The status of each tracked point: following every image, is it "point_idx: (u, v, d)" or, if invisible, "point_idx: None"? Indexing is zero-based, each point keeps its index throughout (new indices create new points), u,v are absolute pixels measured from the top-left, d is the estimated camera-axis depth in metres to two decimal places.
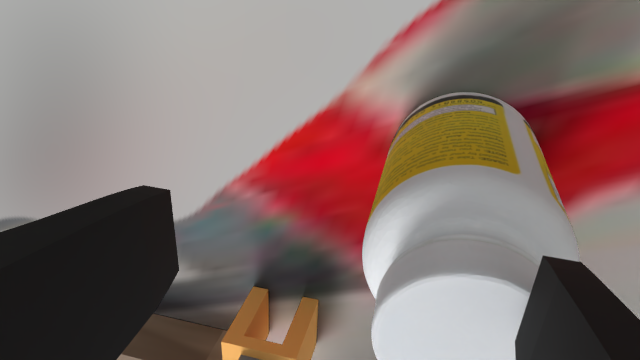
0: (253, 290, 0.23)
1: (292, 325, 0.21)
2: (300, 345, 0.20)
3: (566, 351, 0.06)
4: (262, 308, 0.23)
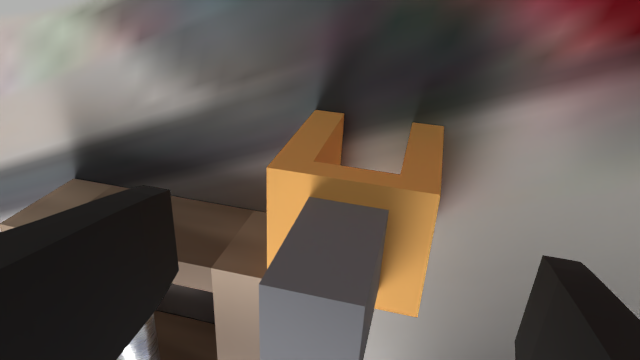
0: (316, 113, 0.12)
1: (409, 152, 0.10)
2: (439, 176, 0.09)
3: (566, 351, 0.06)
4: (336, 142, 0.12)
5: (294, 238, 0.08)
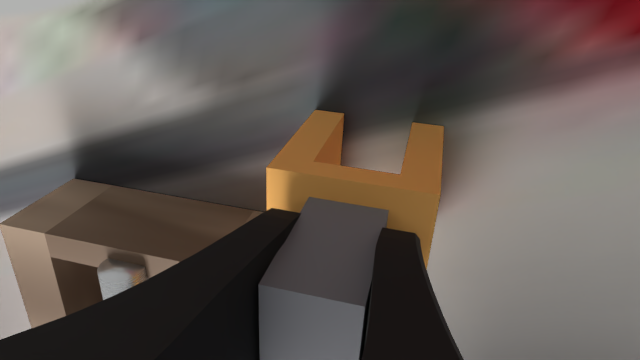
0: (316, 113, 0.12)
1: (409, 152, 0.10)
2: (439, 176, 0.09)
3: (368, 309, 0.07)
4: (335, 142, 0.12)
5: (294, 238, 0.08)
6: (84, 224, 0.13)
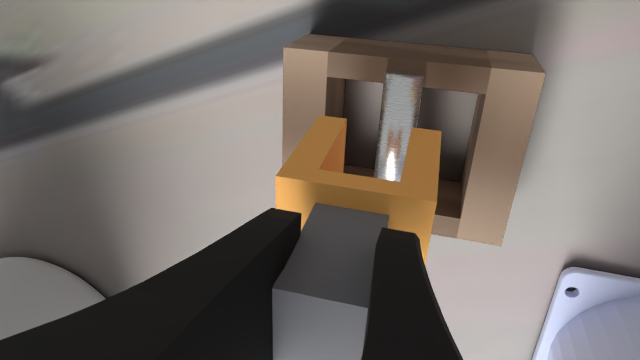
0: (320, 119, 0.13)
1: (408, 158, 0.11)
2: (436, 183, 0.10)
3: (369, 309, 0.07)
4: (339, 147, 0.13)
5: (302, 243, 0.09)
6: (354, 49, 0.15)
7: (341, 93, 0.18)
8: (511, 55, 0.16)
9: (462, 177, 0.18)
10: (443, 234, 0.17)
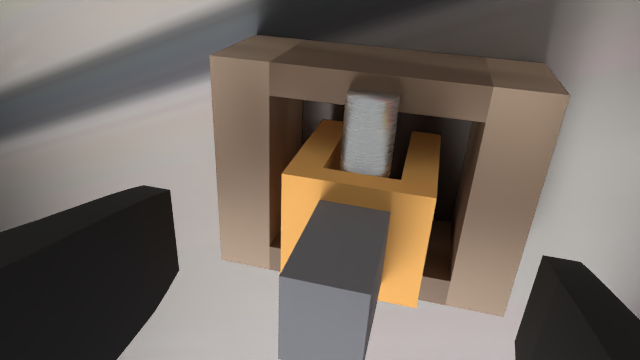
0: (324, 122, 0.13)
1: (409, 159, 0.11)
2: (436, 182, 0.10)
3: (566, 351, 0.06)
4: None
5: (307, 237, 0.09)
6: (307, 58, 0.11)
7: (297, 111, 0.14)
8: (518, 65, 0.12)
9: (453, 218, 0.14)
10: (428, 299, 0.13)
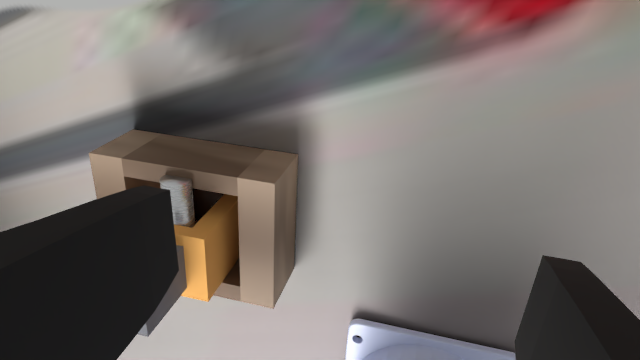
0: None
1: (208, 213, 0.19)
2: (212, 228, 0.18)
3: (566, 351, 0.06)
4: None
5: None
6: (147, 154, 0.19)
7: None
8: (276, 157, 0.20)
9: None
10: (231, 297, 0.20)
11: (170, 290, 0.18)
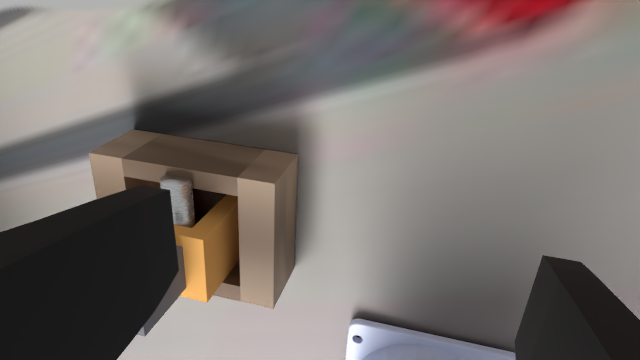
0: None
1: (208, 214, 0.19)
2: (212, 229, 0.18)
3: (566, 351, 0.06)
4: None
5: None
6: (147, 154, 0.19)
7: None
8: (276, 157, 0.20)
9: None
10: (231, 297, 0.20)
11: (168, 290, 0.18)
